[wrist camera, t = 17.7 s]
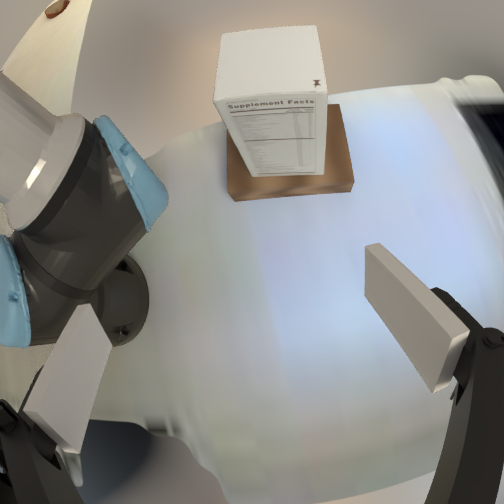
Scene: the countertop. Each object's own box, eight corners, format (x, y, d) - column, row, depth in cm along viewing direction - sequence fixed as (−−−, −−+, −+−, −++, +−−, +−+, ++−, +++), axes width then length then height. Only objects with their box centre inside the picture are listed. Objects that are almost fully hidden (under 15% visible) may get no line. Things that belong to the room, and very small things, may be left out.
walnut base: (235, 201, 42) (227, 192, 38) (233, 129, 44) (226, 115, 40) (350, 191, 39) (354, 181, 35) (337, 119, 41) (339, 104, 37)
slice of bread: (49, 9, 74) (45, 5, 71) (78, -9, 71) (74, -14, 68) (34, 31, 72) (30, 27, 68) (63, 12, 68) (59, 7, 65)
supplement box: (320, 115, 37) (320, 22, 21) (325, 176, 36) (334, 92, 19) (251, 118, 39) (219, 31, 23) (249, 178, 38) (209, 100, 21)
